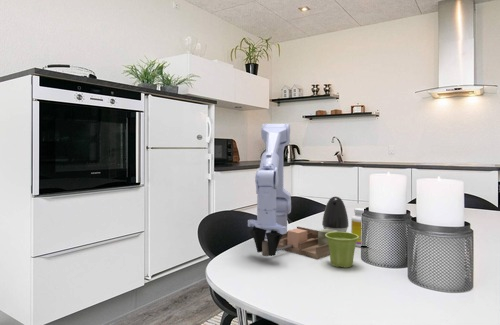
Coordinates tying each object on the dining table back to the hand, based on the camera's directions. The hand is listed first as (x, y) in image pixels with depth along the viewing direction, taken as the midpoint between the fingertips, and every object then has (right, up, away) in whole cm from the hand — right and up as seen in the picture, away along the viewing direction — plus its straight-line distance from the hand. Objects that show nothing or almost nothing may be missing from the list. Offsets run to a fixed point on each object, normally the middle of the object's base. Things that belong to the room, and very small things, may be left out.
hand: (266, 253), depth 106 cm
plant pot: (+22, -2, -4) cm, 22 cm away
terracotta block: (+6, 0, +6) cm, 8 cm away
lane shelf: (+14, -2, +14) cm, 20 cm away
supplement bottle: (+34, -2, +18) cm, 39 cm away
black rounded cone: (+29, -1, +33) cm, 44 cm away
